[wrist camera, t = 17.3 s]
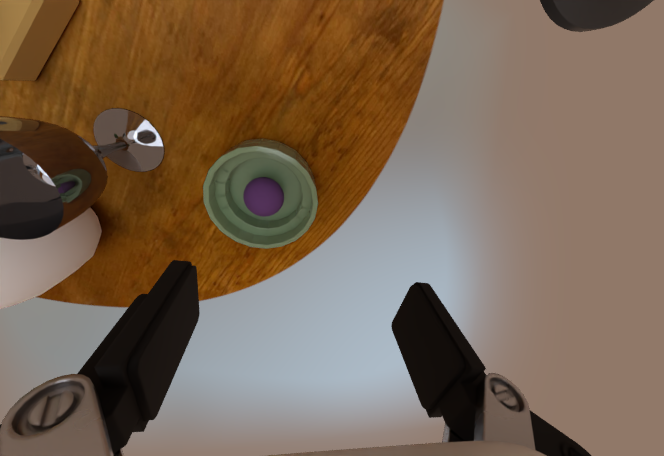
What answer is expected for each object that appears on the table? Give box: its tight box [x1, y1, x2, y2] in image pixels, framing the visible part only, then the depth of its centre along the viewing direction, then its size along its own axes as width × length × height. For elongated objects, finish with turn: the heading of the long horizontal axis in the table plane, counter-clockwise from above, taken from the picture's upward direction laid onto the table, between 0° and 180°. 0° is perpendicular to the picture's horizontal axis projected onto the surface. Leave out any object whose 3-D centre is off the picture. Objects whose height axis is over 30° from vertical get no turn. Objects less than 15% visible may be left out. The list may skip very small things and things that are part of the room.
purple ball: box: [243, 177, 284, 217], centre depth 30 cm, size 5×5×5 cm
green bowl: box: [203, 138, 318, 248], centre depth 31 cm, size 13×13×5 cm
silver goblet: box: [0, 108, 164, 240], centre depth 21 cm, size 8×8×15 cm
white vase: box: [0, 208, 102, 309], centre depth 25 cm, size 13×13×14 cm
